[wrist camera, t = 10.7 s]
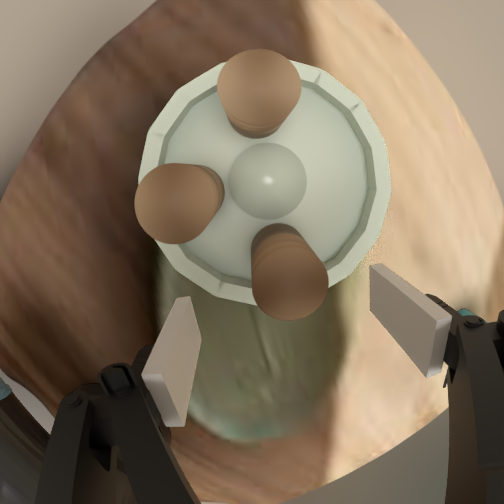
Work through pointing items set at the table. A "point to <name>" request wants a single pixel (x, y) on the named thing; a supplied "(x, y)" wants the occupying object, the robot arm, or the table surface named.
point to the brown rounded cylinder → (178, 201)
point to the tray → (276, 179)
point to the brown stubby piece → (286, 273)
